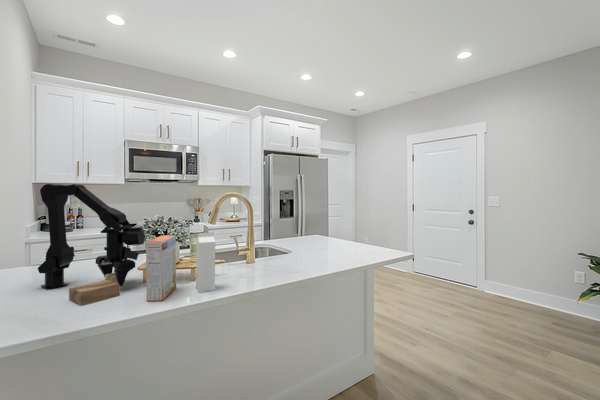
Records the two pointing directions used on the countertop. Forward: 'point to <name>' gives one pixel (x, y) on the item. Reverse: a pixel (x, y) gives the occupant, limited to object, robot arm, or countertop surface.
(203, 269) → the milk
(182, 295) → the countertop surface
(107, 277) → the oak cube
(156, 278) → the cracker box
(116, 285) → the walnut box
